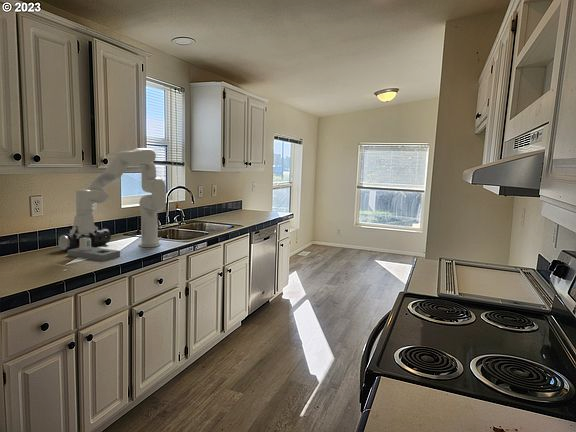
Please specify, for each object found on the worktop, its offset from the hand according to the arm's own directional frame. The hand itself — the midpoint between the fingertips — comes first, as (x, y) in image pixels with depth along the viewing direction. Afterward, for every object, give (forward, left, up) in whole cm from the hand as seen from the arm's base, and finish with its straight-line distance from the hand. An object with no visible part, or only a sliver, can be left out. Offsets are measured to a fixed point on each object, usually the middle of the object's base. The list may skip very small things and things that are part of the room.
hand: (84, 244), depth 208 cm
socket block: (0, +6, -6) cm, 9 cm away
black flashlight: (-14, -15, -7) cm, 22 cm away
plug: (0, 0, -6) cm, 6 cm away
